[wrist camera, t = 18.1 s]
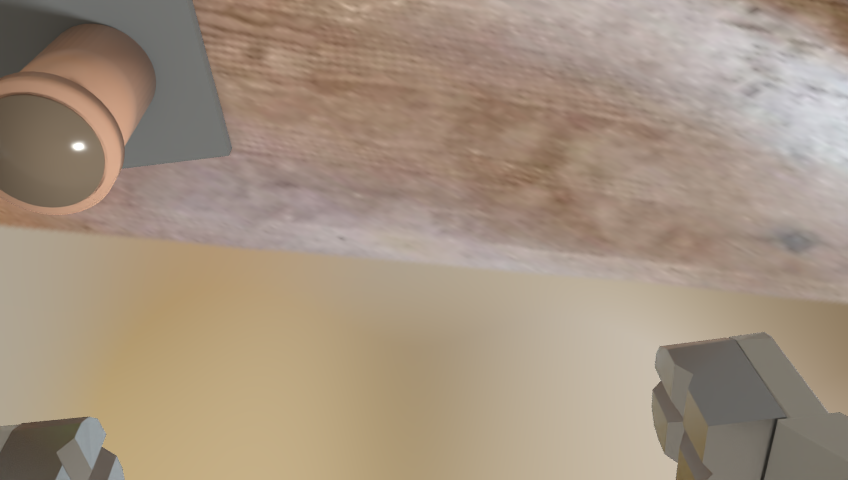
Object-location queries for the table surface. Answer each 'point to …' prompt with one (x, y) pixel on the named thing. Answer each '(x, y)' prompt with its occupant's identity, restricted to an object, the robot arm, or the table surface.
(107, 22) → the rubber mat
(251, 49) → the table surface
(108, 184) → the terracotta pot
